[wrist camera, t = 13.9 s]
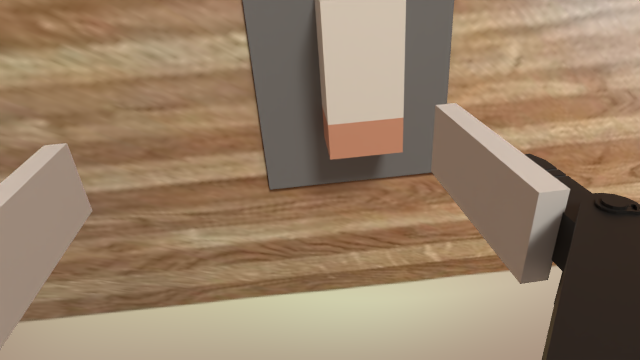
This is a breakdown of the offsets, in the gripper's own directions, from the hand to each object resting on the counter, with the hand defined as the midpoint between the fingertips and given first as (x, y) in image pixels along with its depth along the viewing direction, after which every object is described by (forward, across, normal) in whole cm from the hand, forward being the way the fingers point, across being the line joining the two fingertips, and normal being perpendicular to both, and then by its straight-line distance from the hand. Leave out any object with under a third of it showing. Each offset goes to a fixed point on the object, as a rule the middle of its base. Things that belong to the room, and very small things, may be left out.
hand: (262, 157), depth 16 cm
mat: (+22, +8, -2) cm, 24 cm away
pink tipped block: (+22, +8, -2) cm, 23 cm away
